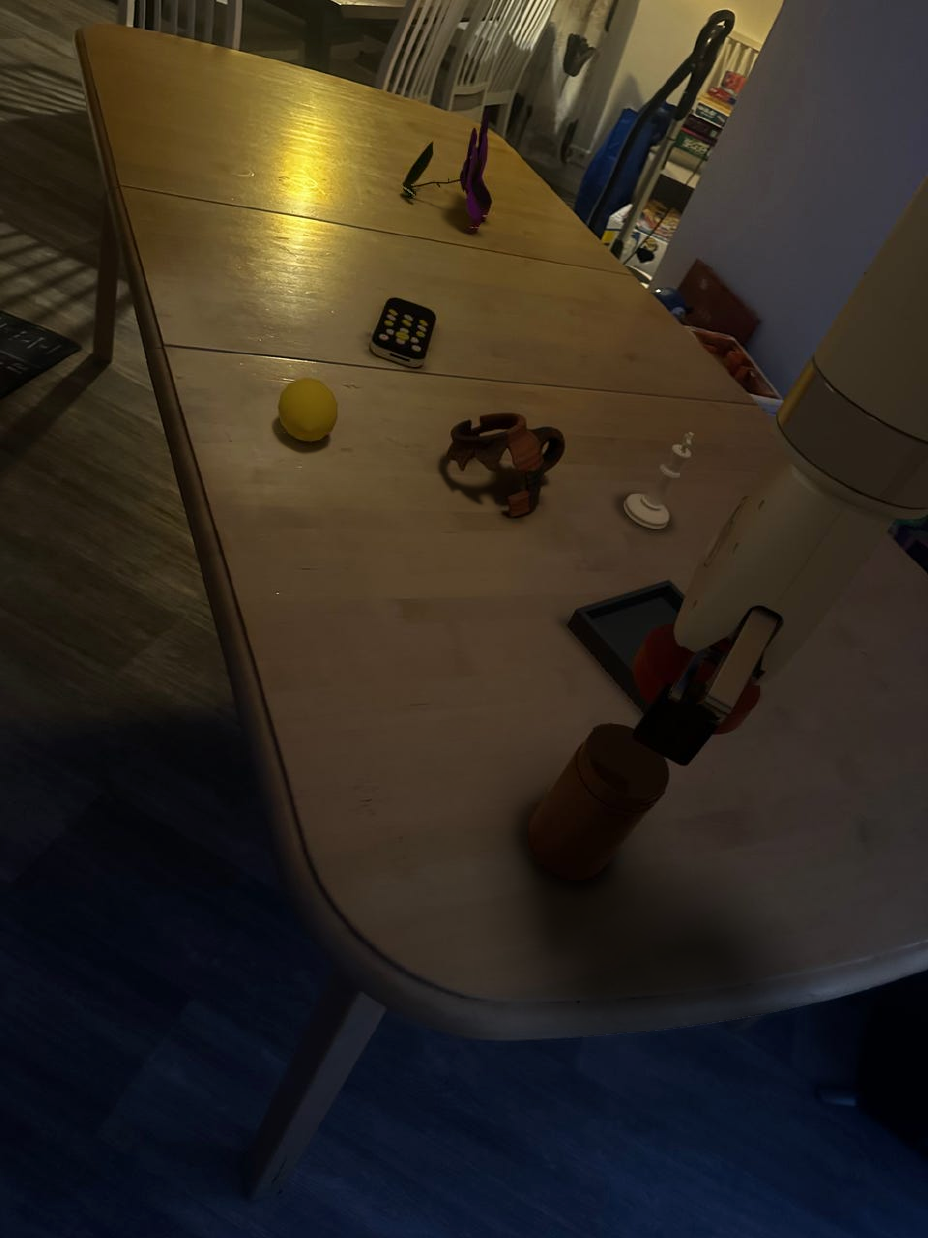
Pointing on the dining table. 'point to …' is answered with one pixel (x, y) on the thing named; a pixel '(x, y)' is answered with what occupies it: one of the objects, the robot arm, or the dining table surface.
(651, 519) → the chess piece
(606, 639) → the tray
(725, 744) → the dining table surface
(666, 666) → the jar lid
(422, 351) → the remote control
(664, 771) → the jar
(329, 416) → the lemon
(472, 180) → the flower
